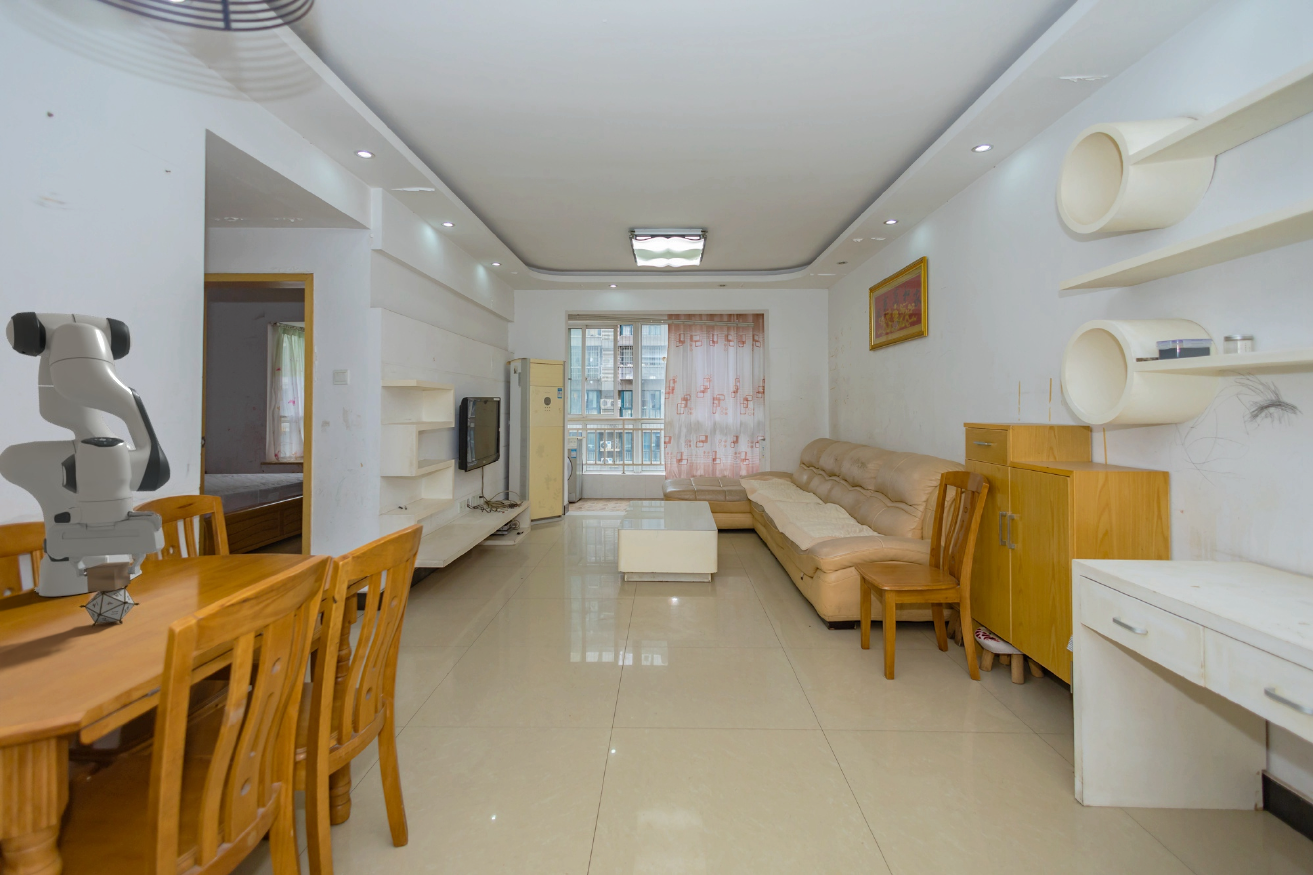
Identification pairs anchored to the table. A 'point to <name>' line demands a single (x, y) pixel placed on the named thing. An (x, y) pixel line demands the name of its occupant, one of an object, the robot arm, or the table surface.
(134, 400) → the robot arm
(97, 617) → the game die
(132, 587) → the table surface
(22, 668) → the table surface
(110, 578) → the walnut cube
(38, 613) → the table surface
